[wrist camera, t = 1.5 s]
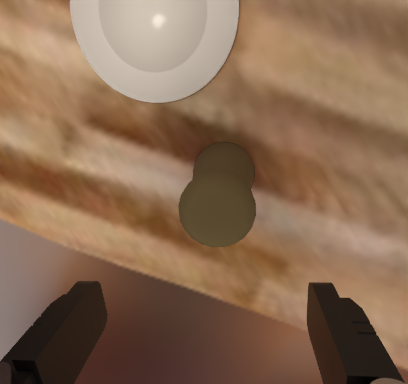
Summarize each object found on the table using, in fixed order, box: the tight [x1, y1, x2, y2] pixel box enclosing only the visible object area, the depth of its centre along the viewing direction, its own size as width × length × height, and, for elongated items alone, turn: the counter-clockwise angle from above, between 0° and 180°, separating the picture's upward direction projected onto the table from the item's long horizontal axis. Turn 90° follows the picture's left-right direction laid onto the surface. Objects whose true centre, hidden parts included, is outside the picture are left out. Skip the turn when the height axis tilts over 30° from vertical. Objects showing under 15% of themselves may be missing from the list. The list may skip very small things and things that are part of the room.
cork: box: [179, 142, 256, 247], centre depth 23 cm, size 6×6×11 cm
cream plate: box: [70, 0, 239, 103], centre depth 24 cm, size 14×14×1 cm
